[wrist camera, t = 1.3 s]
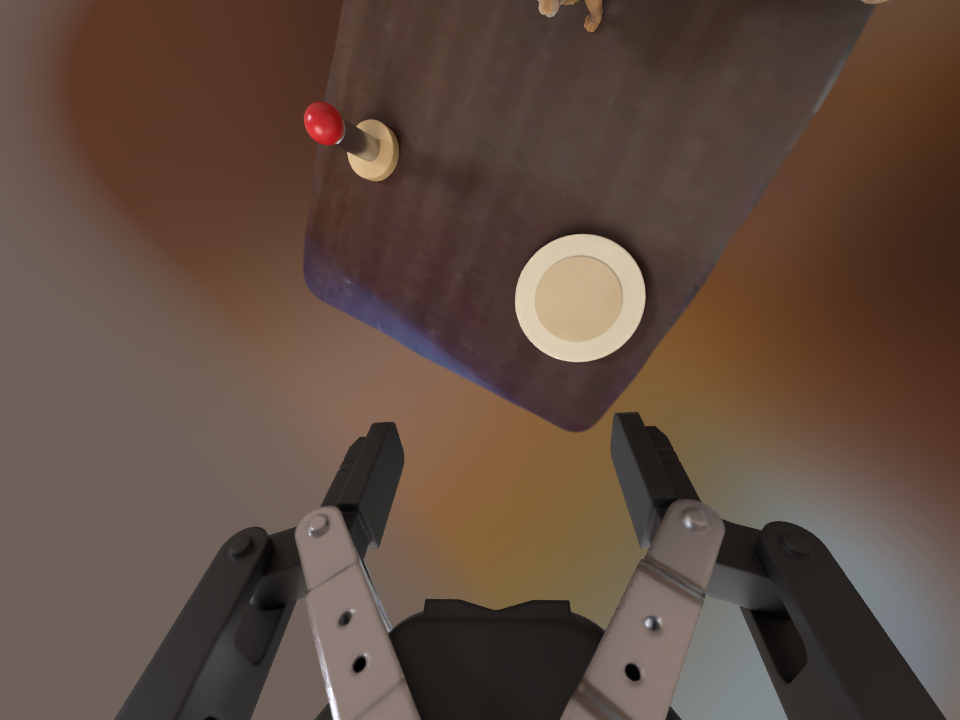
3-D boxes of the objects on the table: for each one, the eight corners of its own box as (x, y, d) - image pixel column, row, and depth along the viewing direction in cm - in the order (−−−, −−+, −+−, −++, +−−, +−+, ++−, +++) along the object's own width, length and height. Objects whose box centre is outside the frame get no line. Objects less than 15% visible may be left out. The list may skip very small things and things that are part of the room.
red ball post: (356, 122, 39) (285, 76, 31) (402, 125, 38) (341, 78, 29) (352, 178, 41) (283, 150, 32) (396, 184, 39) (336, 156, 31)
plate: (530, 226, 36) (528, 224, 35) (661, 245, 32) (663, 244, 32) (506, 345, 39) (504, 346, 38) (624, 373, 36) (625, 375, 35)
